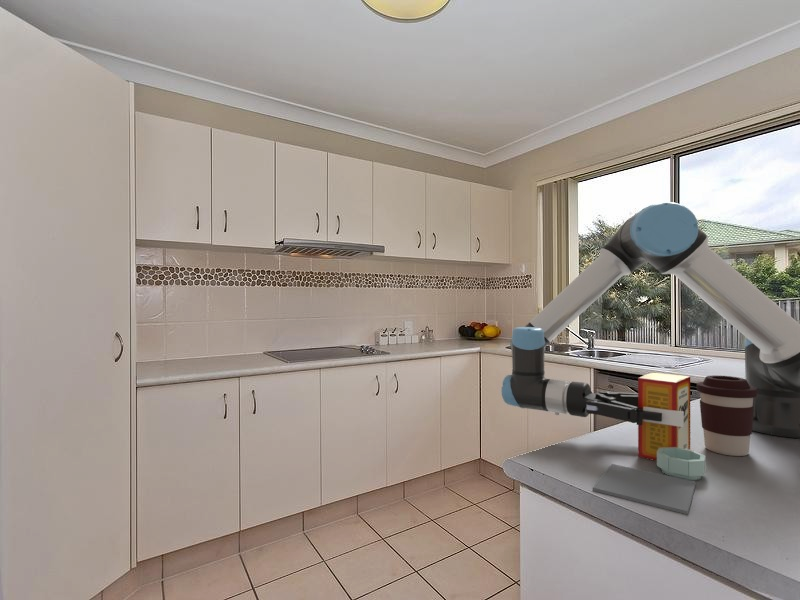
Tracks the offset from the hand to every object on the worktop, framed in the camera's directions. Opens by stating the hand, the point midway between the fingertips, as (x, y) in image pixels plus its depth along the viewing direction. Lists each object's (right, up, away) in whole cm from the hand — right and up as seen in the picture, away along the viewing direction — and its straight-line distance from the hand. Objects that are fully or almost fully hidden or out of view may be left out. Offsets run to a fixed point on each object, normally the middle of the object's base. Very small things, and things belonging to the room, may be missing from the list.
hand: (686, 413), depth 84 cm
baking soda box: (-3, -9, +2) cm, 10 cm away
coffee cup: (+11, -9, +5) cm, 15 cm away
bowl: (-5, -9, -7) cm, 13 cm away
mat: (-15, -9, -13) cm, 22 cm away
